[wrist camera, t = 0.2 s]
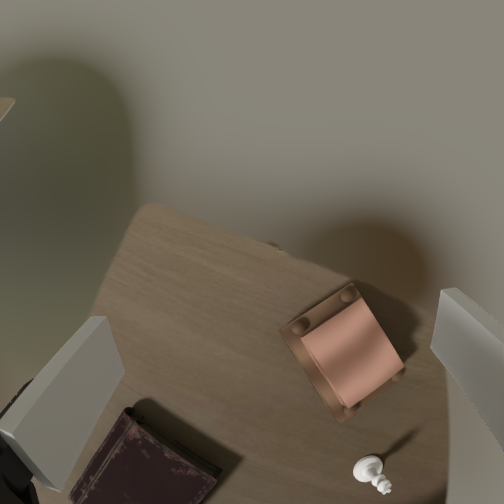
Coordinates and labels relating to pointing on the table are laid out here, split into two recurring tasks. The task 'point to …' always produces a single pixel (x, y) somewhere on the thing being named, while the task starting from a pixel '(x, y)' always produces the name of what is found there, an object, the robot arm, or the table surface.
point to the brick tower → (344, 352)
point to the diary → (143, 469)
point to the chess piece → (372, 473)
